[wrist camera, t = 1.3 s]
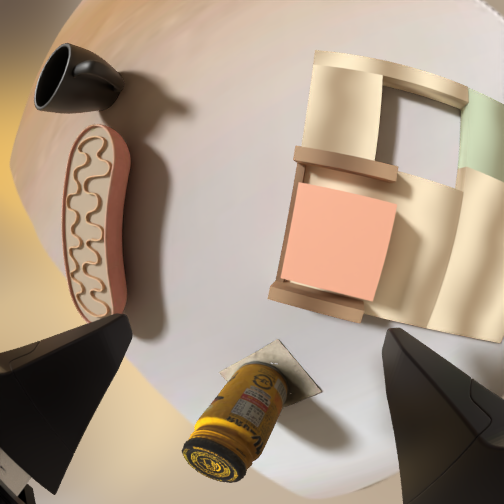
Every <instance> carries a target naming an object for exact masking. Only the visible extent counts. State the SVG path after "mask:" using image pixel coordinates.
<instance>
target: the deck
mask: <svg viewBox="0 0 504 504" xmlns="http://www.w3.org/2000/svg"><path fill="white" fill-rule="evenodd" d="M382 85H383V86H387V87H391V88H395V89H399V90H403V91H407V92H410V93H414V94H417V95H421V96H424V97H427V98H430V99H433V100H436V101H439V102H442V103H445V104H448V105H451V106H453V107H456V108H458V109H461V126H460V148H459V161H458V171H457V179H456V187H455V189H454V188H451V187H448V186H446V185H443V184H439V183H436V182H433V181H430V180H427V179H424V178H420V177H417V176H413V175H410V174H406V173H403V172H399V171H398V172H397V179H396V182H394V183H388V182H384V181H380V180H376V179H372V178H368V177H364V176H359V175H355V174H350V173H346V172H341V171H336V170H331V169H326V168H321V167H315V166H310V165H306V171H305V177H304V183H306V184H311V185H316V186H321V187H326V188H331V189H335V190H340V191H345V192H349V193H353V194H358V195H362V196H366V197H370V198H374V199H378V200H382V201H386V202H390V203H394V204H397V209H396V214H395V219H394V224H393V228H392V233H391V237H390V241H389V245H388V249H387V253H386V257H385V261H384V265H383V268H382V272H381V276H380V279H379V282H378V286H377V289H376V292H375V296H374V299H373V302H372V301H368V300H364V299H360V298H356V297H352V296H348V295H344V294H340V293H337V292H333V291H329V290H325V289H321V288H317V287H313V286H309V285H305V284H302V283H298V282H294V281H290V280H286V279H285V281H287V282H291V283H295V284H299V285H303V286H306V287H310V288H314V289H318V290H322V291H326V292H330V293H334V294H337V295H341V296H345V297H349V298H353V299H357V300H361V301H363V302H364V314H367V315H371V316H375V317H379V318H384V319H388V320H392V321H396V322H401V323H405V324H409V325H414V326H418V327H423V328H428V329H433V330H437V331H442V332H447V333H452V334H456V335H461V336H466V337H471V338H476V339H481V340H486V341H492V342H497V343H501V341H502V339H503V336H504V104H502V103H500V102H498V101H496V100H494V99H492V98H490V97H488V96H486V95H484V94H481V93H479V92H477V91H475V90H472V89H470V88H468V87H467V86H464V85H462V84H459V83H457V82H454V81H452V80H449V79H446V78H443V77H441V76H438V75H435V74H432V73H429V72H425V71H422V70H419V69H415V68H412V67H408V66H405V65H401V64H397V63H393V62H388V61H384V60H379V59H374V58H369V57H364V56H358V55H351V54H345V53H337V52H328V51H318V50H315V56H314V63H313V71H312V79H311V86H310V93H309V100H308V107H307V114H306V120H305V127H304V133H303V140H302V146H301V147H307V148H314V149H319V150H325V151H331V152H336V153H341V154H346V155H351V156H356V157H360V158H365V159H369V160H373V161H375V155H376V147H377V139H378V131H379V121H380V110H381V97H382Z"/></svg>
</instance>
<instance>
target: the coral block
mask: <svg viewBox="0 0 504 504" xmlns="http://www.w3.org/2000/svg"><path fill="white" fill-rule="evenodd" d="M396 209H397V204H394V203H390V202H386V201H382V200H378V199H374V198H370V197H366V196H362V195H358V194H353V193H349V192H345V191H340V190H335V189H331V188H326V187H321V186H316V185H311V184H306V183H300V182H299V183H298V189H297V195H296V200H295V206H294V211H293V217H292V222H291V227H290V233H289V238H288V243H287V248H286V253H285V258H284V263H283V268H282V273H281V278H283V279H286V280H290V281H294V282H298V283H302V284H305V285H309V286H313V287H317V288H321V289H325V290H329V291H333V292H337V293H340V294H344V295H348V296H352V297H356V298H360V299H364V300H368V301H372V302H373V299H374V296H375V292H376V289H377V286H378V282H379V279H380V276H381V272H382V268H383V265H384V261H385V257H386V253H387V249H388V245H389V241H390V237H391V233H392V228H393V224H394V219H395V214H396Z"/></svg>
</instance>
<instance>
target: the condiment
mask: <svg viewBox="0 0 504 504" xmlns="http://www.w3.org/2000/svg"><path fill="white" fill-rule="evenodd" d="M270 362H272V363H278V365H276V364H271V363H270ZM219 373H220V374H221V375H222V376H223V378H224V379H225V380H226V381H227V384H226V385H225V386H224V388H223V389H222V390H221V392H220V393H219V394H218V396H217V397H216V398H215V400H214V401H213V402H212V403H211V405H210V406H209V407H208V408H207V409H206V410H205V412H204V413H203V414H202V416H201V417H200V418H199V420H198V421H197V423H196V424H195V430H194V432H193V433H192V434H191V436H190V438H189V440H188V441H186V443H185V444H184V447H183V449H182V453H183V456H184V458H185V459H186V461H187V462H188V464H189V465H190V466H192V468H194V469H195V470H196V471H197V472H199V473H201V474H202V475H204V476H206V477H208V478H211V479H214V480H217V481H220V482H229V483H232V482H237V481H239V480H241V479H242V478H243V477H244V476H245V475H246V471H247V469H248V468H249V467H250V466H251V465H252V462H253V461H255V460H256V459H258V458H259V456H260V455H261V454H262V451H263V449H264V447H265V445H266V443H267V441H268V439H269V437H270V435H271V432H272V430H273V428H274V426H275V424H276V421H277V419H278V417H279V414H280V412H281V410H282V408H284V407H286V406H289V405H292V404H295V403H297V402H299V401H301V400H303V399H306V398H308V397H311V396H314V395H315V394H317V393H320V392H321V391H320V389H319V388H318V387H317V386H316V384H315V383H314V382H313V380H312V379H311V378H310V377H309V376H308V374H307V373H306V372H305V371H304V369H303V368H302V367H301V366H300V365H299V364H298V362H297V361H296V360H295V359H294V358H293V357H292V356H291V354H290V353H289V352H288V350H287V349H286V348H285V347H284V346H283V345H282V344H281V343H280V341H279V340H278V339H277V340H275V341H274V342H272V343H270V344H269V345H267V346H265V347H264V348H262V349H260V350H259V351H257V352H255V353H253V354H251V355H250V356H248V357H246V358H244V359H242V360H240V361H239V362H237V363H235V364H233V365H231V366H230V367H228V368H226V369H224V370H222V371H221V372H219ZM290 393H291V394H290Z"/></svg>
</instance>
